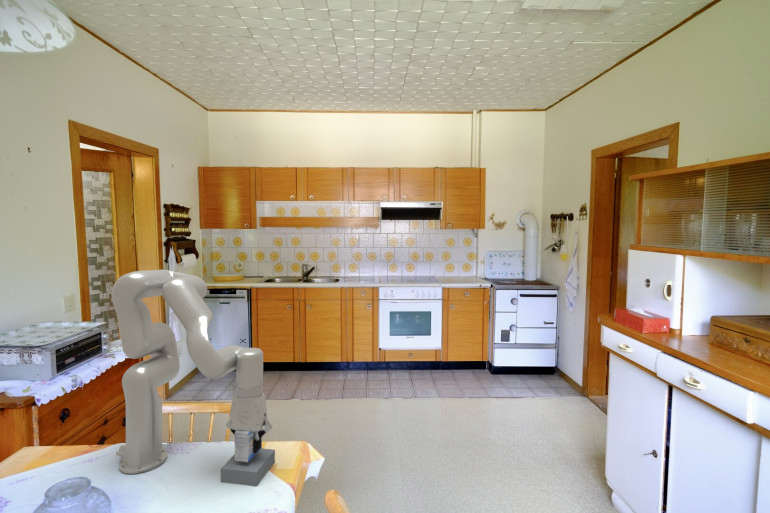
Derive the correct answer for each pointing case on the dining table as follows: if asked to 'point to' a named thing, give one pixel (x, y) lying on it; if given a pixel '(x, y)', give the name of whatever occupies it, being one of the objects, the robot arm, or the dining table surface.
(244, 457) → the medicine box
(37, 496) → the dining table surface
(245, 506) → the dining table surface
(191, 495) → the dining table surface
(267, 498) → the dining table surface
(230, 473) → the base block
